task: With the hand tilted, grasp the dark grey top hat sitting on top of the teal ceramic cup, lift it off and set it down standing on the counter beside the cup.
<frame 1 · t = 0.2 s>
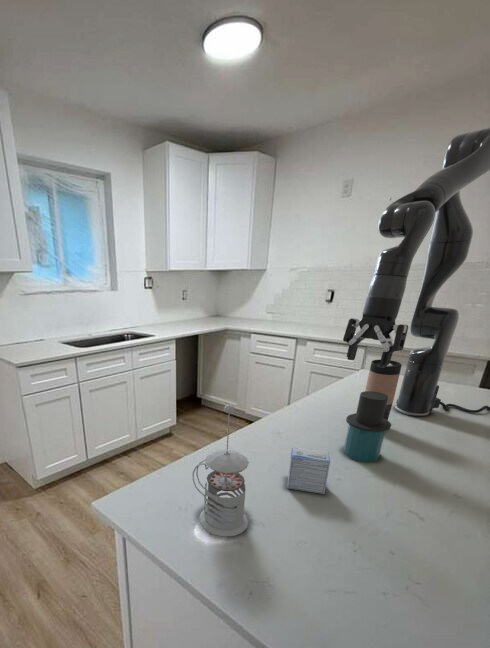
hand: (366, 363, 92), 23 cm above the counter, tool pointing down, fingers open, 8 cm apart
french press: (219, 518, 73), on the counter
cup: (360, 454, 95), on the counter
dark grey top hat: (366, 430, 92), point 7 cm above the counter, touching cup
travel mug: (371, 427, 110), on the counter
medicine box: (305, 487, 83), on the counter
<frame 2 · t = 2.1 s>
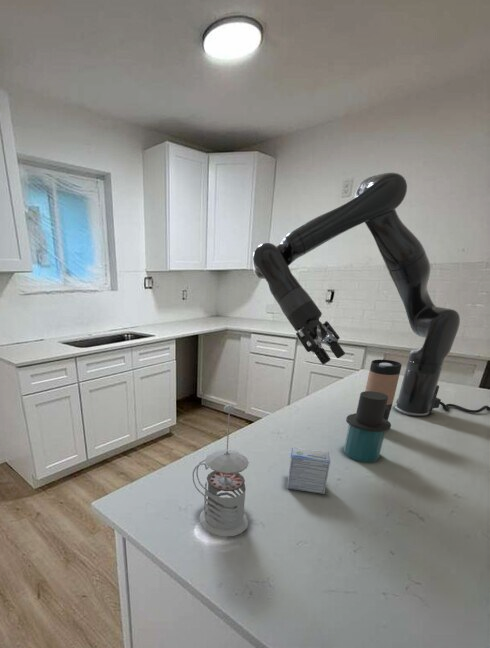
hand: (334, 359, 93), 24 cm above the counter, tool tilted 45°, fingers open, 8 cm apart
nothing on the counter moved.
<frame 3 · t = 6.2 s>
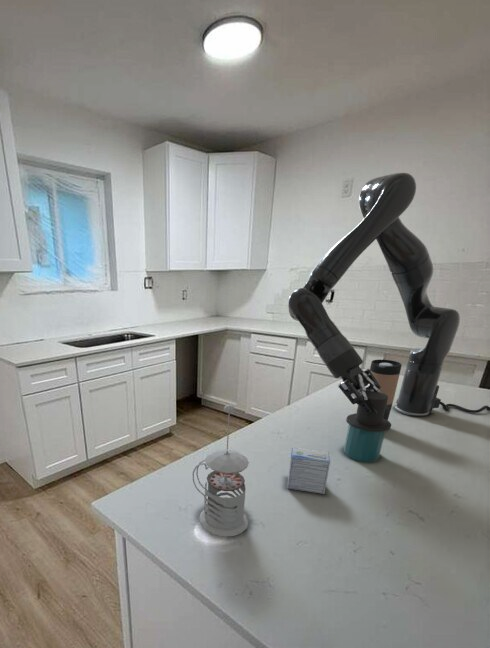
hand: (378, 410, 89), 13 cm above the counter, tool tilted 45°, fingers closed on dark grey top hat, 6 cm apart
dark grey top hat: (366, 430, 92), point 7 cm above the counter, touching cup, gripper
everything else where it was.
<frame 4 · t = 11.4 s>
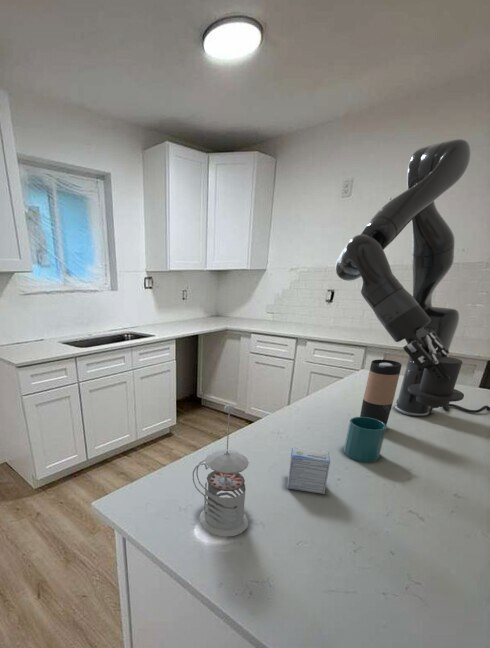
hand: (449, 378, 76), 24 cm above the counter, tool tilted 45°, fingers closed on dark grey top hat, 6 cm apart
dark grey top hat: (432, 401, 80), point 18 cm above the counter, touching gripper
everything else where it was.
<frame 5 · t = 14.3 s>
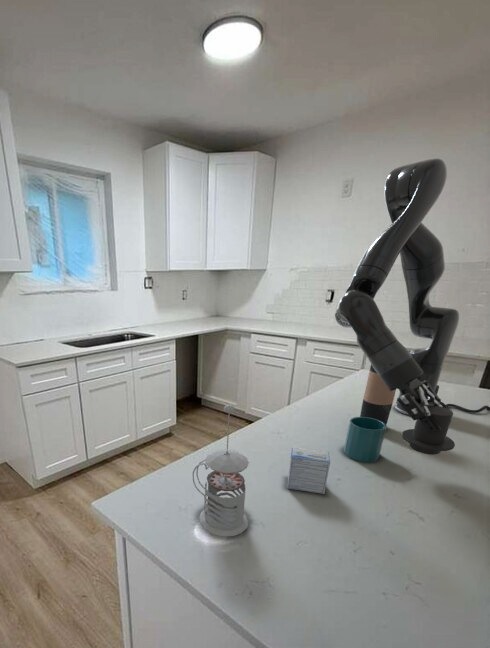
hand: (440, 427, 80), 13 cm above the counter, tool tilted 45°, fingers closed on dark grey top hat, 6 cm apart
dark grey top hat: (424, 448, 83), point 7 cm above the counter, touching gripper
everything else where it was.
when the fingers open (6 cm above the counter, at t = 16.8 s): dark grey top hat stays where it is, on the counter.
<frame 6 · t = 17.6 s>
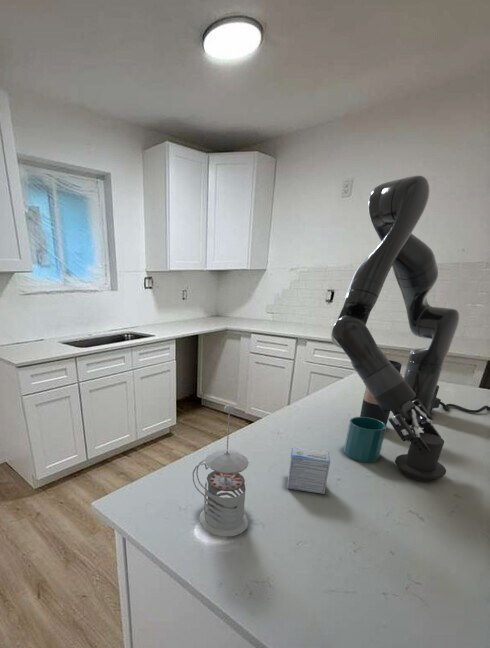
hand: (431, 446, 83), 8 cm above the counter, tool tilted 45°, fingers open, 8 cm apart
dark grey top hat: (417, 473, 86), on the counter
everything else where it was.
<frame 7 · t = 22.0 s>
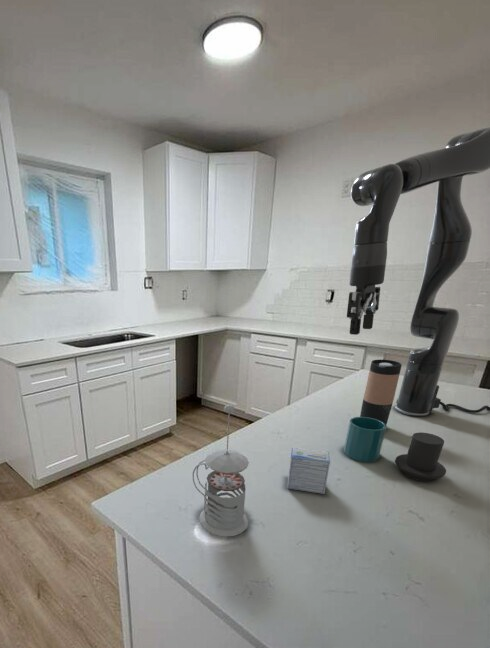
hand: (361, 331, 94), 30 cm above the counter, tool pointing down, fingers open, 8 cm apart
nothing on the counter moved.
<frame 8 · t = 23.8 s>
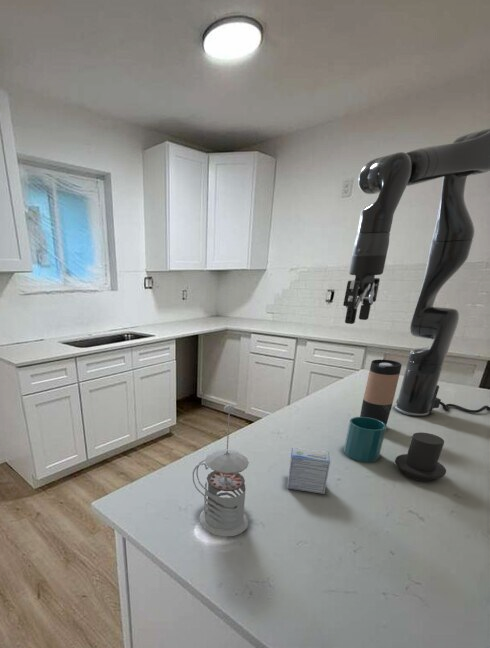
hand: (356, 321, 95), 32 cm above the counter, tool pointing down, fingers open, 8 cm apart
nothing on the counter moved.
at the end: dark grey top hat inside the target area on the counter beside the cup (0.6 cm from its centre), on the counter; dark grey top hat tilted 0°; the gripper is holding nothing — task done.
